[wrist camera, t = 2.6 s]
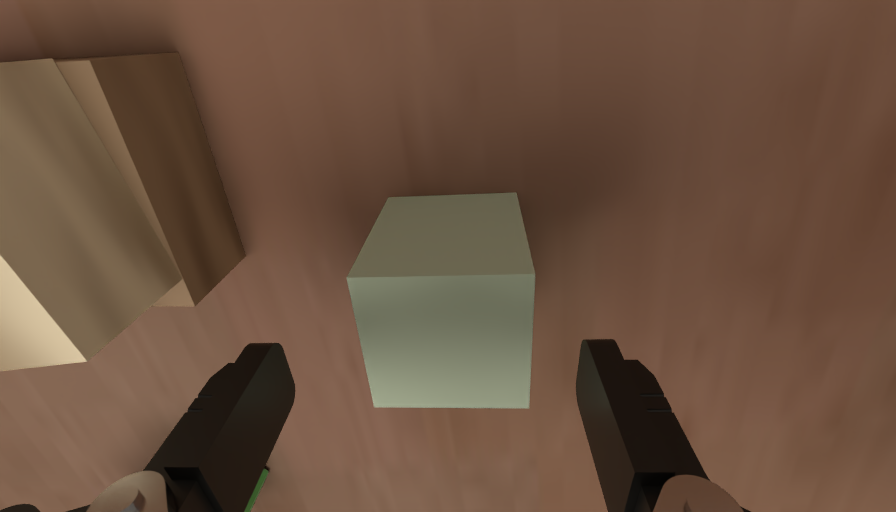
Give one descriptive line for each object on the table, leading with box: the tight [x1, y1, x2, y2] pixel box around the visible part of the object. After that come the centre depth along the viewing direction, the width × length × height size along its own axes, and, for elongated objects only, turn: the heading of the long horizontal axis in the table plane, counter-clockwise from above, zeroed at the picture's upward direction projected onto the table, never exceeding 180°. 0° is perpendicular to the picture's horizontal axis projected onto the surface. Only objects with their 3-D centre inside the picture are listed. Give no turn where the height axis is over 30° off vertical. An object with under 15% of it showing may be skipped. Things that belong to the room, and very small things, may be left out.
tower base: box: [0, 52, 246, 307], centre depth 15 cm, size 8×8×4 cm
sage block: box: [347, 193, 535, 408], centre depth 15 cm, size 5×5×6 cm
